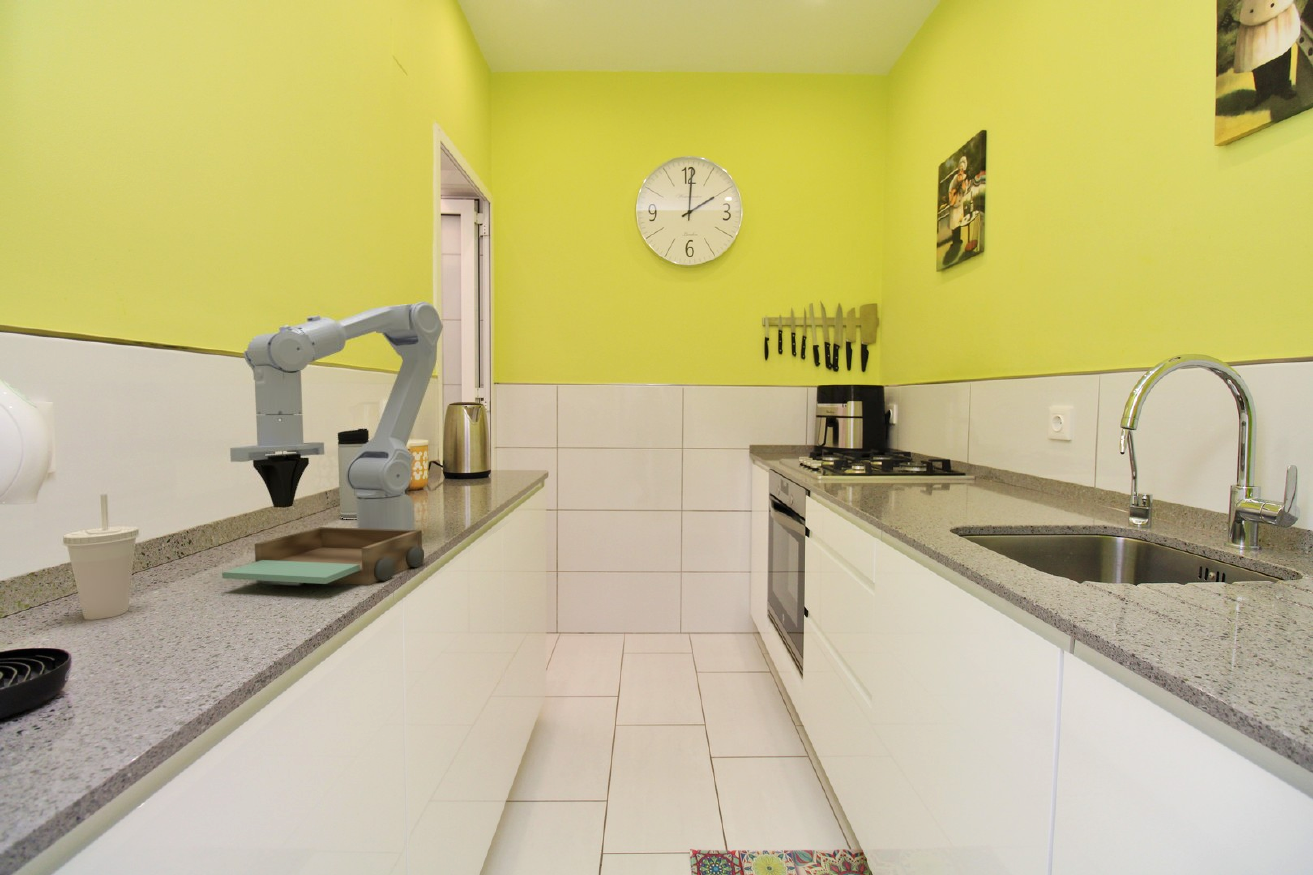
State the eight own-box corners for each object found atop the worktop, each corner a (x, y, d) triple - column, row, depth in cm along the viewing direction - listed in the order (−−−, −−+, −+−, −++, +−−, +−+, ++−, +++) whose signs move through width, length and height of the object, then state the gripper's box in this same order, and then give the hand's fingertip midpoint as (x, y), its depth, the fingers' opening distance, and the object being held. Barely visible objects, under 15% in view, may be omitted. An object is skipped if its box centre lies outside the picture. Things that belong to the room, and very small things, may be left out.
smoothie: (96, 625, 63) (89, 498, 62) (51, 621, 64) (44, 497, 64) (157, 606, 69) (151, 490, 69) (115, 603, 70) (109, 490, 70)
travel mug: (378, 515, 132) (376, 428, 131) (357, 520, 126) (354, 429, 125) (355, 514, 134) (352, 428, 133) (333, 519, 127) (330, 429, 126)
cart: (316, 557, 92) (315, 526, 92) (428, 562, 88) (427, 530, 88) (250, 578, 81) (248, 543, 80) (375, 585, 77) (374, 548, 77)
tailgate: (262, 559, 80) (222, 572, 74) (359, 564, 77) (325, 577, 71) (262, 571, 80) (222, 584, 74) (360, 576, 77) (326, 590, 71)
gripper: (259, 414, 77) (263, 515, 77) (339, 414, 91) (342, 499, 91) (215, 415, 78) (220, 514, 78) (301, 415, 92) (304, 499, 93)
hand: (283, 506), depth 85 cm, fingers closed
